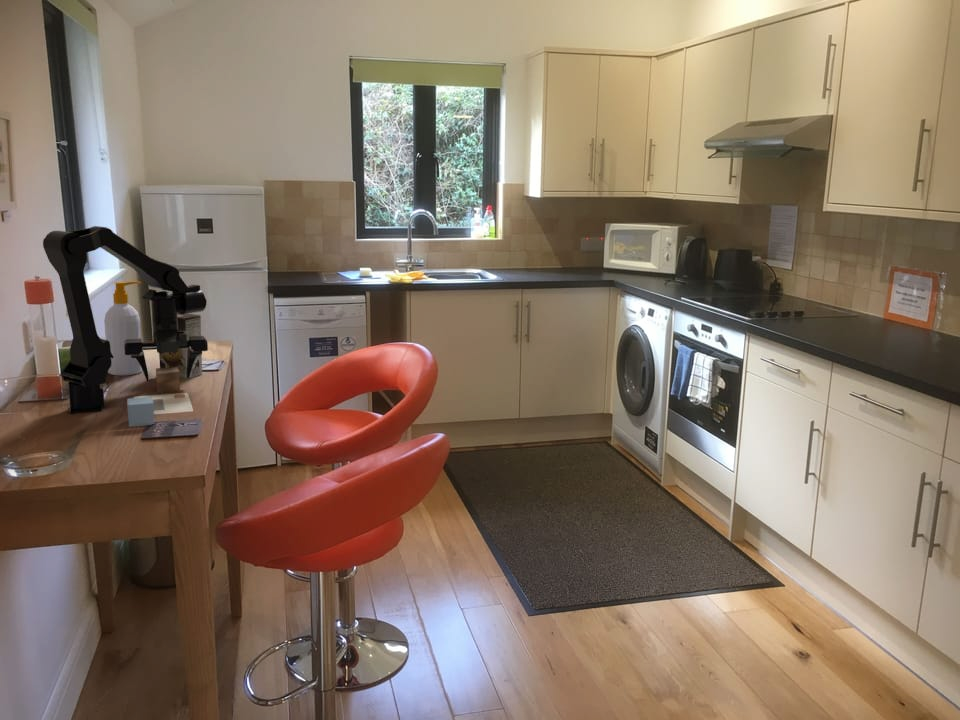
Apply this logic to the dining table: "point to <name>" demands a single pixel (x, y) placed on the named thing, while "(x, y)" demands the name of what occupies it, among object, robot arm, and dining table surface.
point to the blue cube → (140, 411)
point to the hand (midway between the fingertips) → (168, 379)
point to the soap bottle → (122, 331)
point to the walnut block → (167, 379)
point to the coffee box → (179, 358)
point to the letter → (170, 403)
